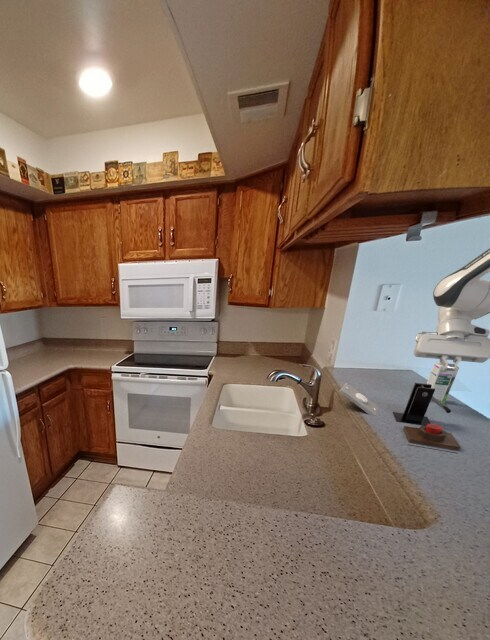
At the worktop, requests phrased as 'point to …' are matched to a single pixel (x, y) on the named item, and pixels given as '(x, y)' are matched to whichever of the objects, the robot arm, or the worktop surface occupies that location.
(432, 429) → the button
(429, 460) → the worktop surface
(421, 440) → the button box
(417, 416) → the bracket
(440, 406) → the switch lever
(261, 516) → the worktop surface
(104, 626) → the worktop surface
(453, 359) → the robot arm
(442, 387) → the syrup box
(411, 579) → the worktop surface
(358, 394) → the light switch
